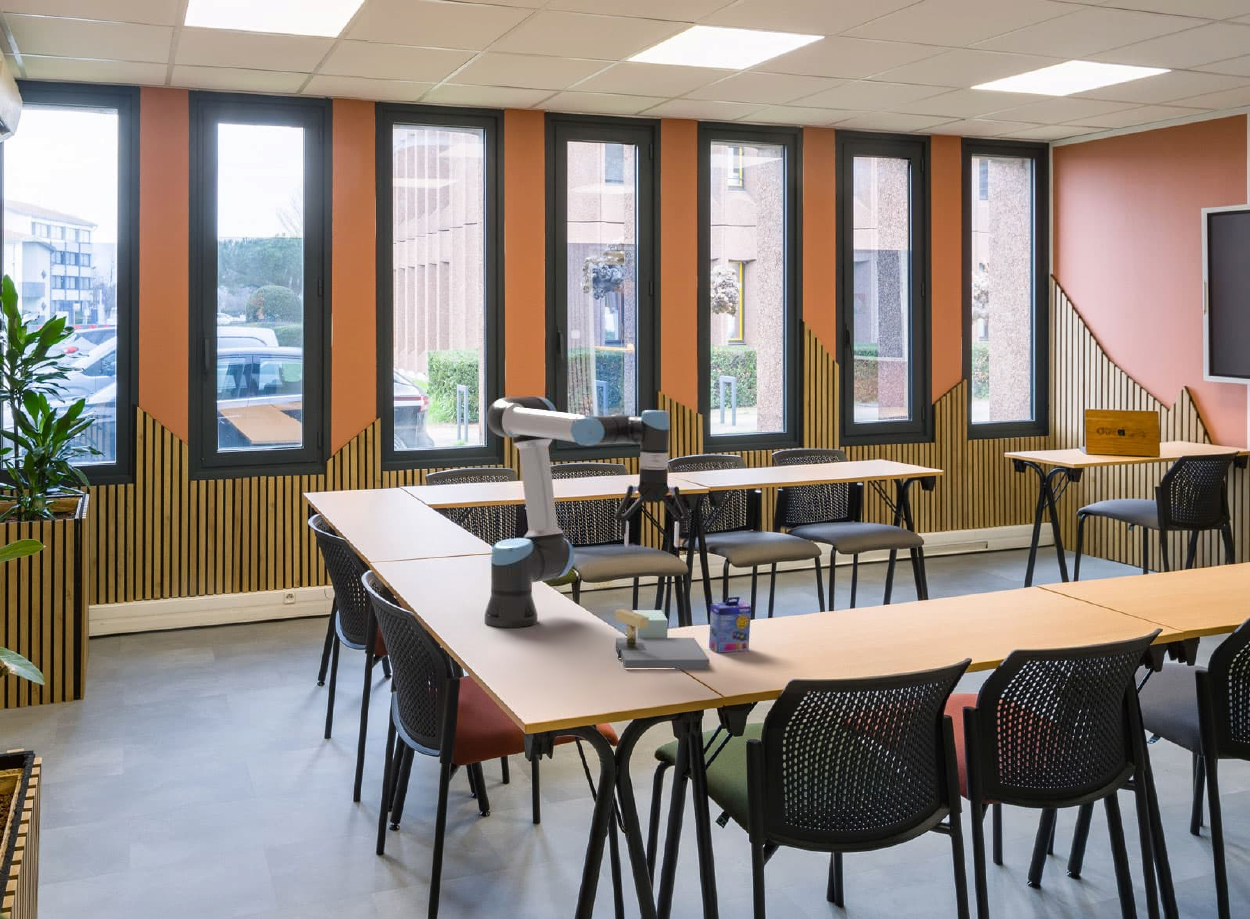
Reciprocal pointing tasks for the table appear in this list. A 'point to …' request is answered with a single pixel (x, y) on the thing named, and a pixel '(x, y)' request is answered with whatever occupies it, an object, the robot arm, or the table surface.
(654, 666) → the panel
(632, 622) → the wooden t-shaped block
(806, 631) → the table surface
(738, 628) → the ink cartridge box
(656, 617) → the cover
